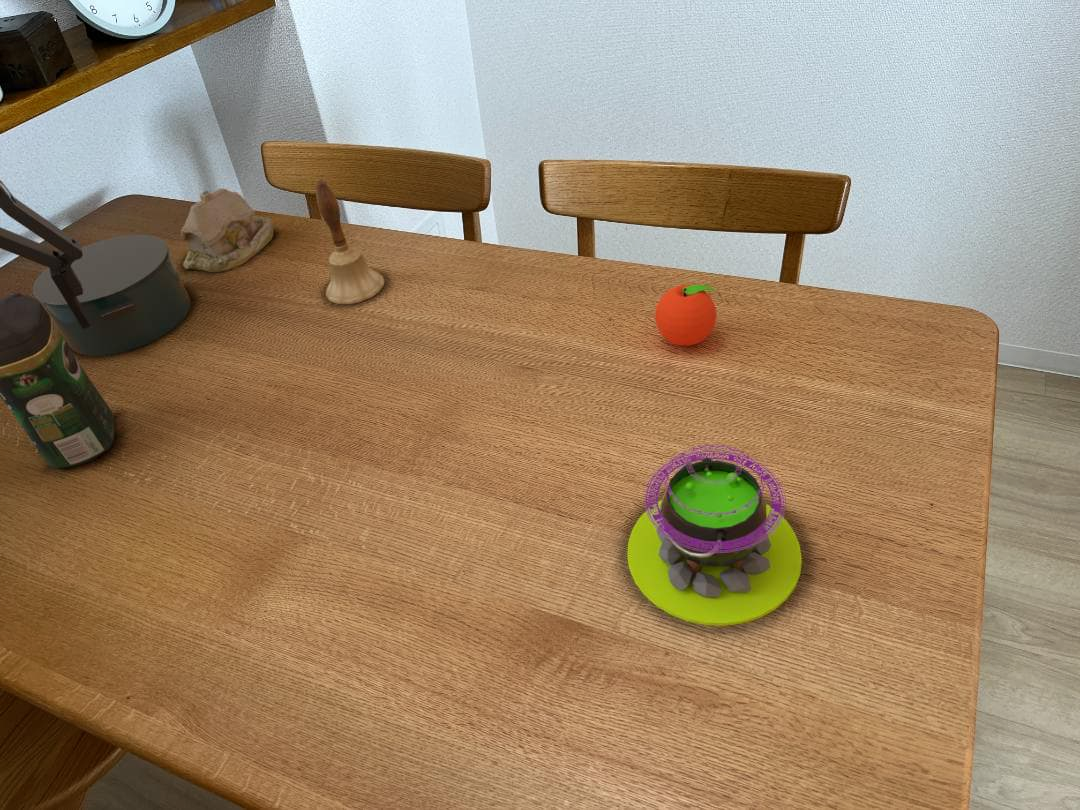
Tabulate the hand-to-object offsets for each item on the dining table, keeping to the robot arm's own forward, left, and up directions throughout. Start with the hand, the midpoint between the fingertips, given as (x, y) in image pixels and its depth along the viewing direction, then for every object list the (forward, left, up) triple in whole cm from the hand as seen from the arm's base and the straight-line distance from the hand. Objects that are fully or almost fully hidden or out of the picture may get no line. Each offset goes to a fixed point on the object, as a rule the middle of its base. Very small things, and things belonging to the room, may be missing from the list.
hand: (19, 347), depth 85 cm
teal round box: (+9, +25, -14) cm, 30 cm away
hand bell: (+38, +10, -14) cm, 42 cm away
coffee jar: (0, 0, -14) cm, 14 cm away
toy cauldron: (+48, -55, -14) cm, 74 cm away
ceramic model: (+26, +35, -14) cm, 46 cm away
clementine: (+66, -29, -14) cm, 73 cm away
